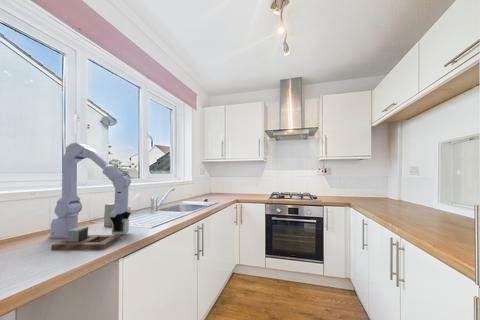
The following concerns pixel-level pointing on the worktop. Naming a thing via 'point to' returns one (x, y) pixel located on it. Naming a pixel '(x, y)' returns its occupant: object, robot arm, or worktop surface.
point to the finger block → (122, 227)
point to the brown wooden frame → (88, 243)
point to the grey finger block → (77, 234)
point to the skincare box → (108, 214)
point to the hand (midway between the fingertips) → (120, 229)
